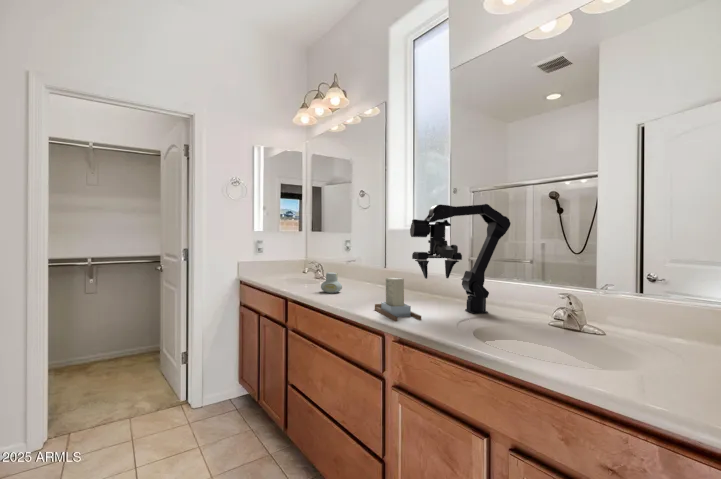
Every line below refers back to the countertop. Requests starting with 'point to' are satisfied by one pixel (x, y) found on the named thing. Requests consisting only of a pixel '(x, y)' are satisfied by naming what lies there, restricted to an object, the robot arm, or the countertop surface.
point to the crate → (397, 309)
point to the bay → (378, 308)
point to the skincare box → (395, 291)
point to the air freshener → (331, 283)
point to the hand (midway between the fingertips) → (436, 278)
